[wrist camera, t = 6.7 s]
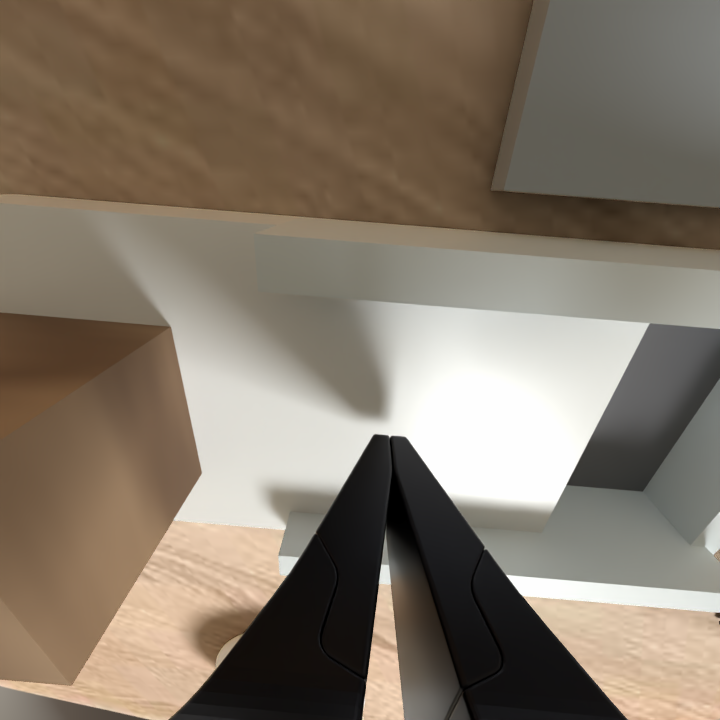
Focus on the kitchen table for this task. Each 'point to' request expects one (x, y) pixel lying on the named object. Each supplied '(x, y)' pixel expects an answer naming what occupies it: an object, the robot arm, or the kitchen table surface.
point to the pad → (617, 103)
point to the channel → (421, 376)
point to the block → (82, 480)
